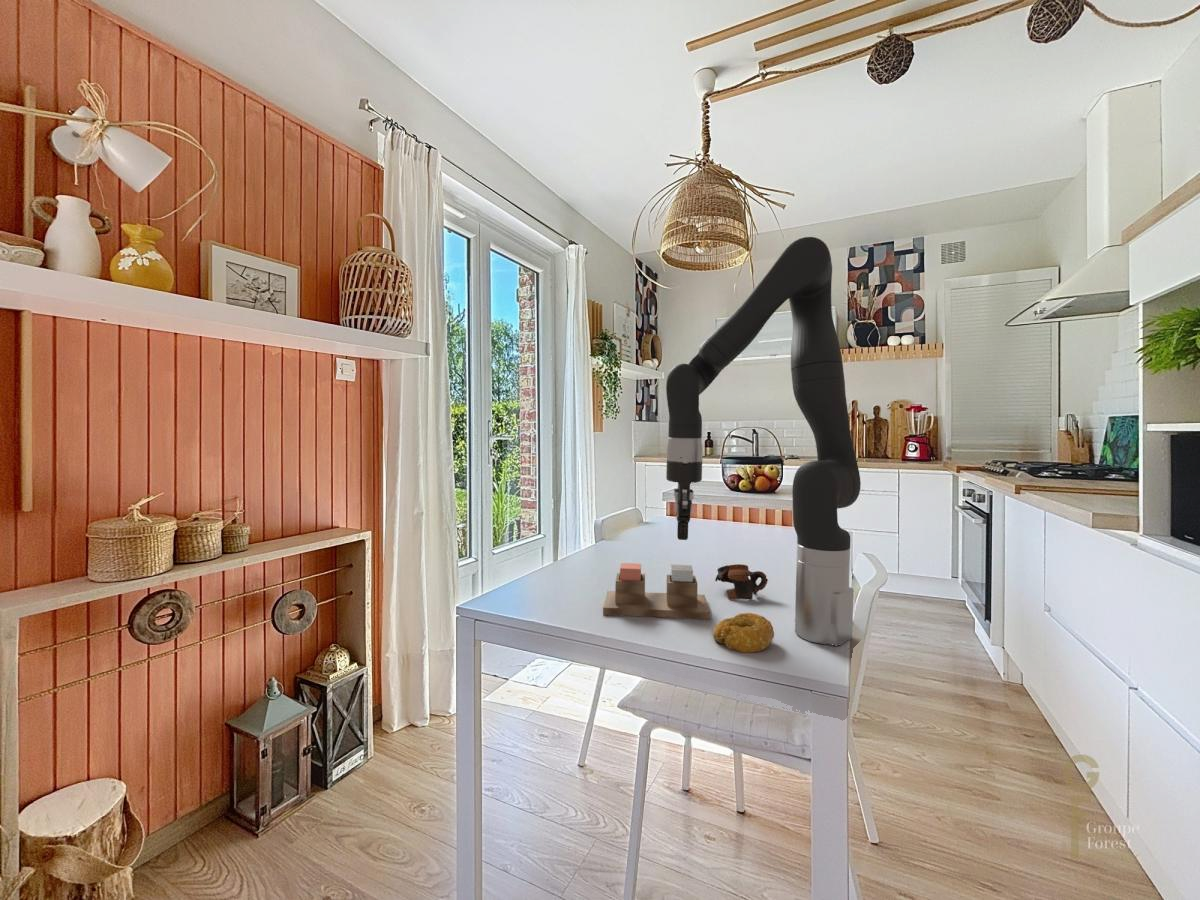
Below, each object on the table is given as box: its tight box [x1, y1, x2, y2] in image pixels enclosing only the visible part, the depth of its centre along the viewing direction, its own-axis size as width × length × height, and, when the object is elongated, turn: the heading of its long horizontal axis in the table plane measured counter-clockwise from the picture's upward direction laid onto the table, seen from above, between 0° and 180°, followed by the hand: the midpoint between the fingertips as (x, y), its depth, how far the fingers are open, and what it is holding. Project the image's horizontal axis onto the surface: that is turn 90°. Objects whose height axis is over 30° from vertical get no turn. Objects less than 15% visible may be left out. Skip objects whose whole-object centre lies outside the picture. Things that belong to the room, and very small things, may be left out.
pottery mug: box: [714, 563, 769, 601], centre depth 123 cm, size 12×10×8 cm
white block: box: [670, 564, 694, 583], centre depth 113 cm, size 4×4×5 cm
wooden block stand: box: [602, 572, 711, 620], centre depth 113 cm, size 22×11×6 cm, turn 84°
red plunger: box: [619, 562, 642, 581], centre depth 114 cm, size 4×4×5 cm
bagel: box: [712, 612, 775, 653], centre depth 96 cm, size 10×11×5 cm
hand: (682, 539), depth 113 cm, fingers closed
